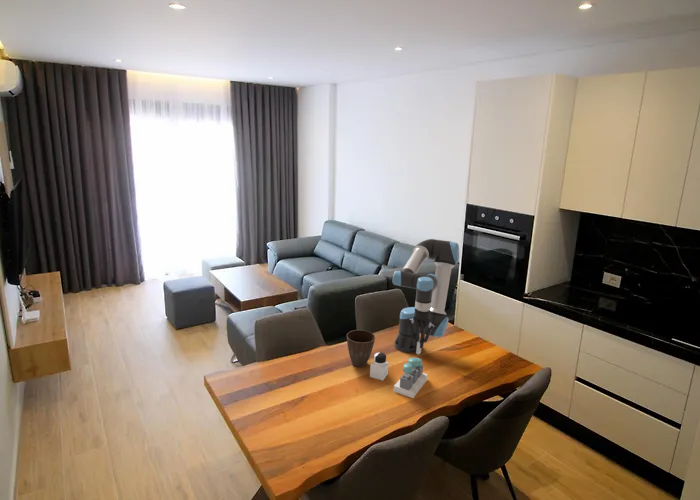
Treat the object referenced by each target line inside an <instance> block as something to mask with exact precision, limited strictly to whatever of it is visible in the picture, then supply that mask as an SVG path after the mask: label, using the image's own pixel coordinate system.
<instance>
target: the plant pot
mask: <svg viewBox="0 0 700 500" xmlns="http://www.w3.org/2000/svg"><path fill="white" fill-rule="evenodd" d="M375 340H376V335H375V334H374V333H372V332H370V331H367V330H365V329H364V330H363V329H354V330H351V331H349V332H348V333H346V342H347V350H348V353H349V357H350V358H349V359H350V361H351V364H352V365H353V366H354V367H356V368H364V367H365V366H366V365H367V363H368V361H369V359H370V357H371V354H372V351H373V347H374V344H375Z"/></svg>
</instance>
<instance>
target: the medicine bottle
mask: <svg viewBox="0 0 700 500" xmlns="http://www.w3.org/2000/svg"><path fill="white" fill-rule="evenodd" d="M388 373H389V361H387V355H386V354H385V353H384V352H375V353H374V355H373V361H372V362H371V363H370V370H369V378H372V379H376V380H379V381H381V382H383V381H384V380H385V378H387V376H388Z"/></svg>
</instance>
